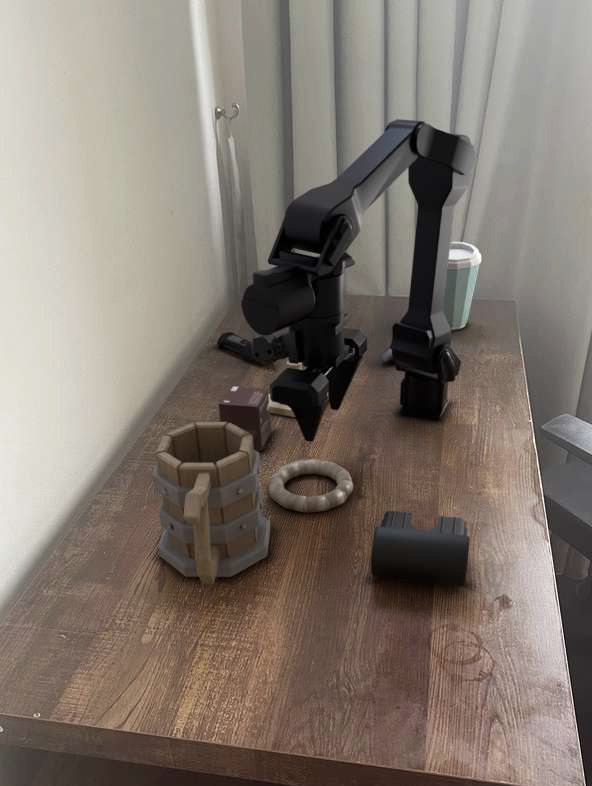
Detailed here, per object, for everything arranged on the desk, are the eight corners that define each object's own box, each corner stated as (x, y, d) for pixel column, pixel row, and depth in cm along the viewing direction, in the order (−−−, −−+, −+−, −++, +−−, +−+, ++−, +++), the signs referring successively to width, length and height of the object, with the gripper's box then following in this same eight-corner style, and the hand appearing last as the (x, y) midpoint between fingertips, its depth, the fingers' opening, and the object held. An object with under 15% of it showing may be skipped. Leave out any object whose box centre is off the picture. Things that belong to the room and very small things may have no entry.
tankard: (174, 513, 94) (158, 408, 86) (273, 513, 94) (266, 407, 86) (138, 623, 77) (114, 506, 69) (258, 624, 77) (248, 505, 69)
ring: (363, 477, 100) (363, 465, 99) (334, 522, 92) (334, 509, 91) (289, 463, 104) (288, 451, 103) (255, 505, 95) (254, 492, 94)
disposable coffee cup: (480, 334, 142) (488, 255, 134) (424, 335, 143) (428, 257, 135) (470, 314, 151) (477, 240, 143) (418, 315, 152) (422, 241, 143)
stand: (331, 395, 121) (331, 355, 118) (311, 420, 115) (309, 377, 111) (281, 388, 124) (279, 347, 121) (258, 411, 118) (255, 369, 114)
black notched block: (370, 592, 81) (371, 542, 77) (379, 552, 86) (380, 505, 83) (463, 604, 79) (468, 553, 75) (465, 562, 85) (471, 514, 81)
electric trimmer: (266, 373, 130) (266, 356, 128) (215, 347, 140) (214, 331, 138) (283, 366, 132) (282, 350, 131) (231, 342, 142) (230, 326, 140)
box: (261, 452, 107) (258, 406, 103) (221, 448, 108) (217, 403, 104) (272, 432, 112) (269, 387, 108) (233, 429, 113) (229, 385, 109)
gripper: (289, 280, 99) (294, 386, 107) (224, 329, 84) (235, 447, 93) (369, 288, 95) (367, 397, 103) (315, 341, 80) (318, 463, 89)
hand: (322, 424), depth 97 cm, fingers open, 9 cm apart
